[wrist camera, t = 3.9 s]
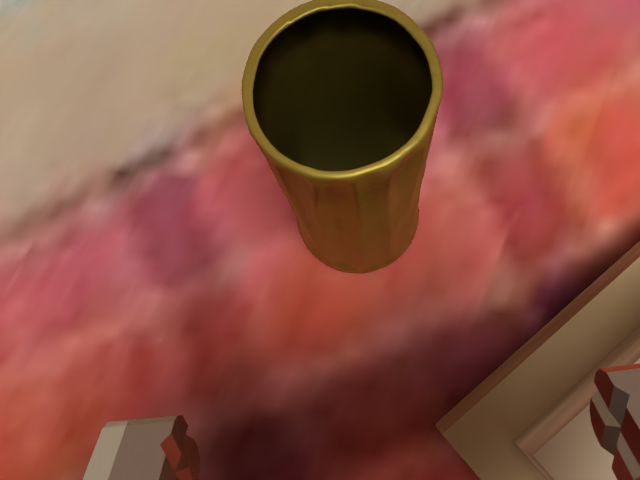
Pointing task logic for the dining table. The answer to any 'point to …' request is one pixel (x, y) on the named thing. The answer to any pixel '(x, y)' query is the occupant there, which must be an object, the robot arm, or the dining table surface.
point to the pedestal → (552, 389)
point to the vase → (346, 124)
